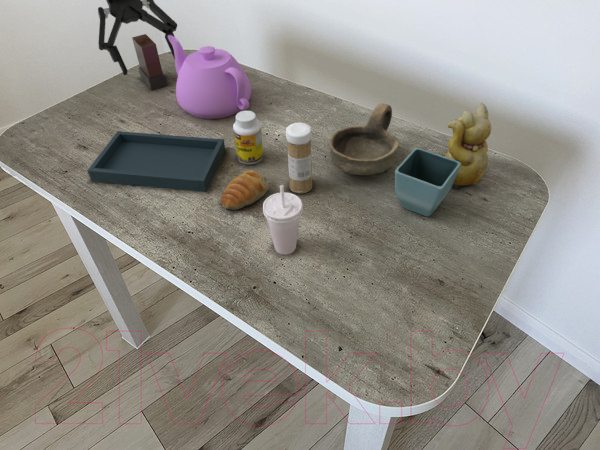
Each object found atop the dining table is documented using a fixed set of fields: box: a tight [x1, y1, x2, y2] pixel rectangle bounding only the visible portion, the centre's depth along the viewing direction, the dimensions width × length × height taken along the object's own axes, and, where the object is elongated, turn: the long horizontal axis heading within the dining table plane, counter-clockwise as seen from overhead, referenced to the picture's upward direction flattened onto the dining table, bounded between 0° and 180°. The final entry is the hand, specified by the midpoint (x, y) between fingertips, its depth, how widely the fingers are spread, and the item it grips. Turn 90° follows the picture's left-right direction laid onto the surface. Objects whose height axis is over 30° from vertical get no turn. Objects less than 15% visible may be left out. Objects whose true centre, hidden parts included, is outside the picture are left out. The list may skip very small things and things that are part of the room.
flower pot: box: [394, 147, 461, 218], centre depth 87 cm, size 9×9×9 cm
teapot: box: [168, 35, 252, 120], centre depth 113 cm, size 25×18×14 cm
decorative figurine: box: [444, 102, 492, 189], centre depth 90 cm, size 10×8×15 cm
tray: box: [87, 130, 226, 193], centre depth 99 cm, size 24×14×3 cm, turn 81°
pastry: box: [220, 169, 269, 211], centre depth 91 cm, size 9×7×4 cm
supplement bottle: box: [232, 110, 264, 165], centre depth 98 cm, size 6×6×10 cm
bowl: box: [328, 102, 400, 176], centre depth 96 cm, size 14×18×10 cm
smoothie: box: [262, 184, 304, 256], centre depth 78 cm, size 6×6×14 cm
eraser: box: [131, 33, 169, 91], centre depth 122 cm, size 8×4×11 cm, turn 33°
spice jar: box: [285, 122, 313, 195], centre depth 89 cm, size 5×5×14 cm
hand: (152, 65), depth 122 cm, fingers open, 13 cm apart
